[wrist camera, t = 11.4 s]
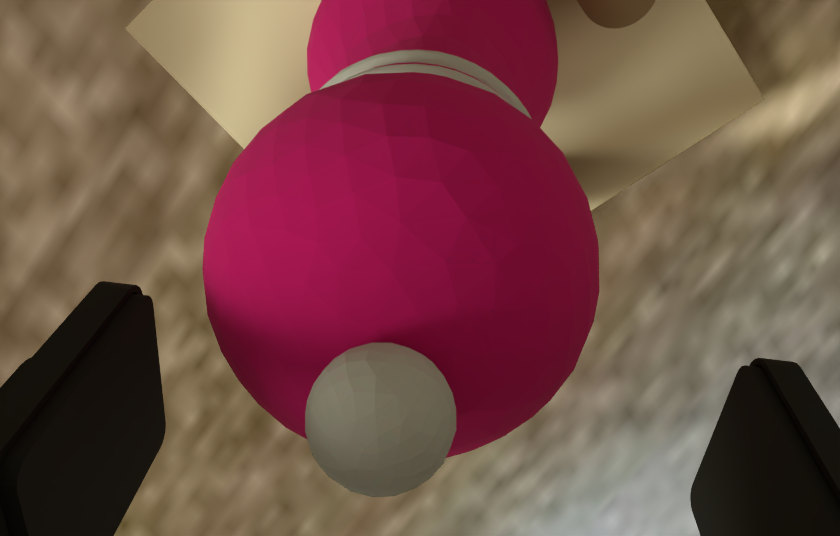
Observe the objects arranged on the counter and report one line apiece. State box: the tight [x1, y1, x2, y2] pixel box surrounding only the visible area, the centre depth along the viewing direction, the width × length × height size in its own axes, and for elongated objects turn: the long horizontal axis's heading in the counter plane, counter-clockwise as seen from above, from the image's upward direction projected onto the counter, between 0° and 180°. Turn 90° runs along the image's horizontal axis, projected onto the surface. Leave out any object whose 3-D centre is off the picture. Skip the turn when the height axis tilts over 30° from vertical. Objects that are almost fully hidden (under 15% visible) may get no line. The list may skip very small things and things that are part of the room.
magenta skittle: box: [203, 0, 599, 497], centre depth 16 cm, size 7×7×20 cm
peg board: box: [125, 0, 764, 210], centre depth 23 cm, size 16×16×8 cm
